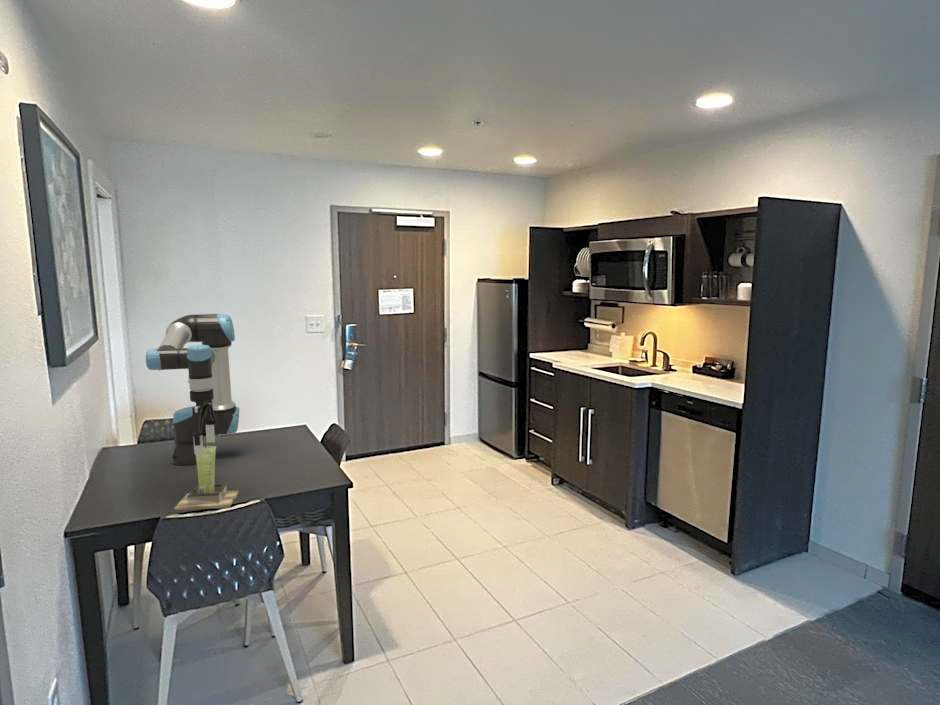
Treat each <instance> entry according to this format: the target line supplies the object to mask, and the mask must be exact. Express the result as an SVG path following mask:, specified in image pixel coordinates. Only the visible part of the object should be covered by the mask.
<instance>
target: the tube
mask: <svg viewBox="0 0 940 705" xmlns="http://www.w3.org/2000/svg"><path fill="white" fill-rule="evenodd" d="M216 452H217V446H216V445H206V446H203V454H196V462H197V464H196V469H197V480H198V485H199V494H209V493H215V475H216V474H215V471H216Z"/></svg>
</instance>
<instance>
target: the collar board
mask: <svg viewBox="0 0 940 705" xmlns="http://www.w3.org/2000/svg"><path fill="white" fill-rule="evenodd" d="M239 494H240V490H228V484H227V483H216V484H215V493H209V494H199V484H197V485H195V486H194V488H193V489H191V491H190V492H187V493H186V494H185V496H183V498H181V500H180V501H179V502H178V503H177V504H176V505H175V506H174V508H173V509H174V511H191V510H193V511H194V510H209V509H228V508H230V507H231V506H232V505H233V502H234V501H235V500H236V498H237V497H238V495H239Z"/></svg>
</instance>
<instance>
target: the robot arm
mask: <svg viewBox="0 0 940 705" xmlns="http://www.w3.org/2000/svg"><path fill="white" fill-rule="evenodd" d="M235 340H236V335H235V328H234V323H233V320H232V318H231V316H230V315H229V314H223V313H207V314H200V313H199V314H187V315H184V316H181V317H179V318H177V319H175V320H173V321H172V322H171V323H170V324H169V325H168V326H167V327H166V330H165V336H164V338H163V340H162V342H161V343H160V345H159V346H158V348H150V349H147V351H146V354H145V363H146V364H145V365H146V368H147V369H148V370H149V371H150V370H151V371H166V370H188V380H187V383H188V384H189V386H188V387H189V390H190V391H189V400H190V402H192V403H195V405H193V406H186V407H183V408H180V409H178V410H175V412H174V413H173V416H172V419H173V420H172V424H173V437H174V447H173V450H172V454H171V456H170V457H171V458H170V460H171V462H170V463H171V464H173V465H176V466H191V465H197V462H196V454H203V446H207V445H206V443H209V444H210V443H216V439H215V436H223V435H225V436H227V435H231V434H236V433H237V432H238V428H239V423H240V422H239V419H240V407H238V406H237V405H236V402H235V401H233V400H232V389H231V388H232V387H231V374H230V360H229V359H230V358H229V348H230V347H232V345H233V344H232V342H234V341H235ZM188 343H201V344H194V345H189V346H188V347H185V345H186V344H188ZM205 439H206V443H205Z"/></svg>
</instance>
